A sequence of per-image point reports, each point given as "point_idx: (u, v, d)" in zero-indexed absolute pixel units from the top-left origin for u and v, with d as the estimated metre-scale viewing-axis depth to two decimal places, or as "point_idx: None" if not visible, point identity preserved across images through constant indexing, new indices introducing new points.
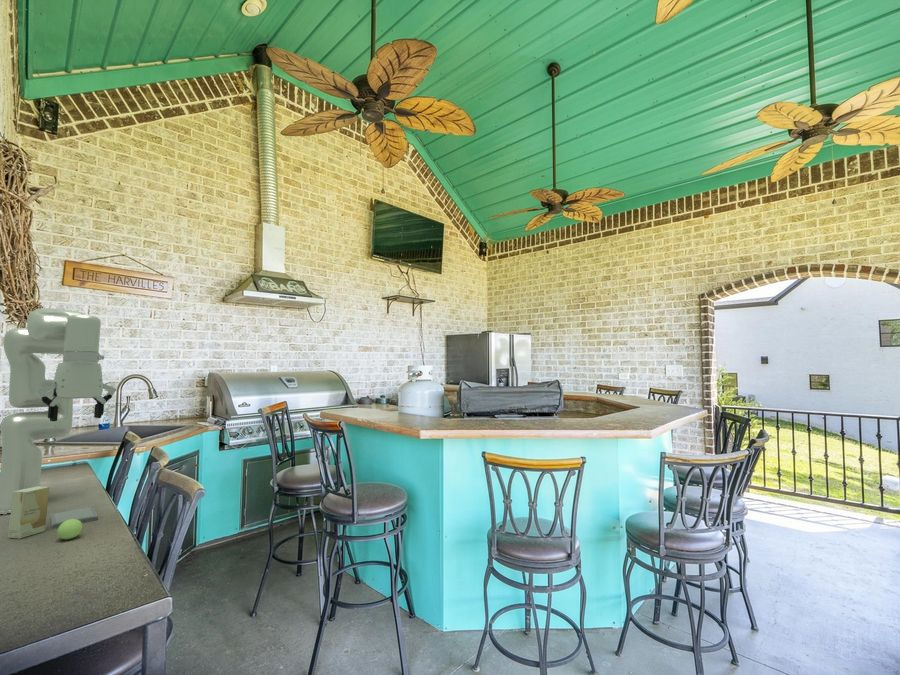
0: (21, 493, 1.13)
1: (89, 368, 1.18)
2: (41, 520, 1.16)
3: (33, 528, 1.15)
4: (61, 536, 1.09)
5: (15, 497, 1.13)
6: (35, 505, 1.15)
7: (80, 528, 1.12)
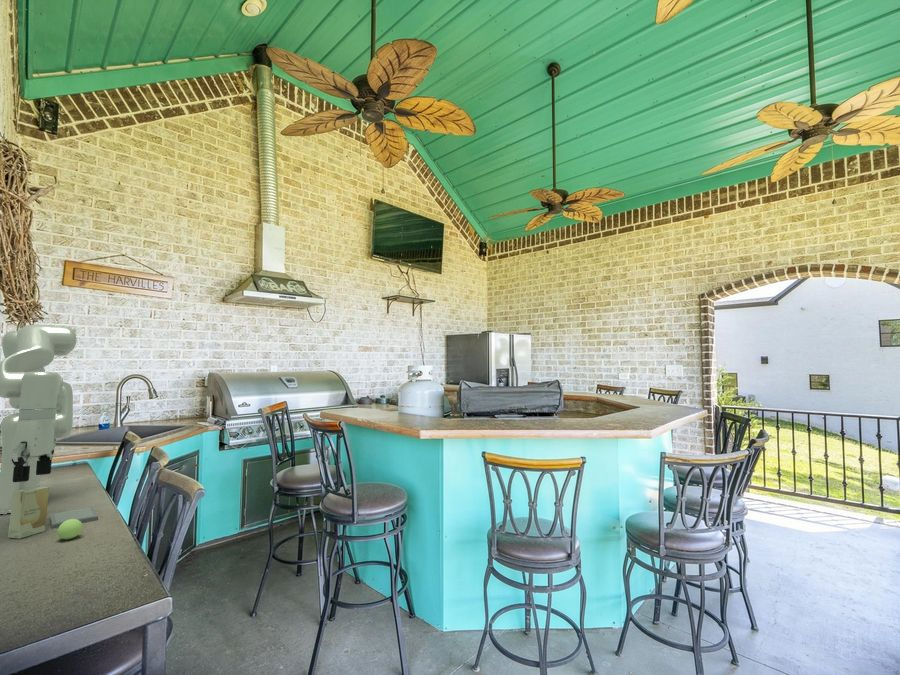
0: (21, 493, 1.13)
1: (50, 424, 1.20)
2: (41, 520, 1.16)
3: (33, 528, 1.15)
4: (61, 536, 1.09)
5: (15, 497, 1.13)
6: (35, 505, 1.15)
7: (80, 528, 1.12)
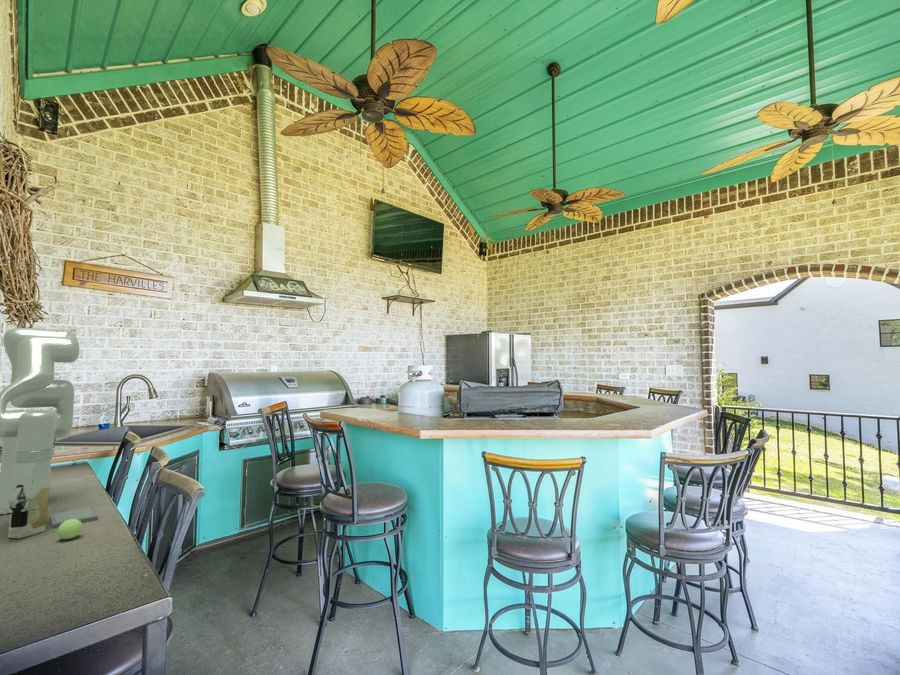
0: None
1: (47, 465, 1.19)
2: (41, 520, 1.16)
3: (34, 528, 1.15)
4: (61, 536, 1.09)
5: None
6: (35, 505, 1.15)
7: (80, 528, 1.12)
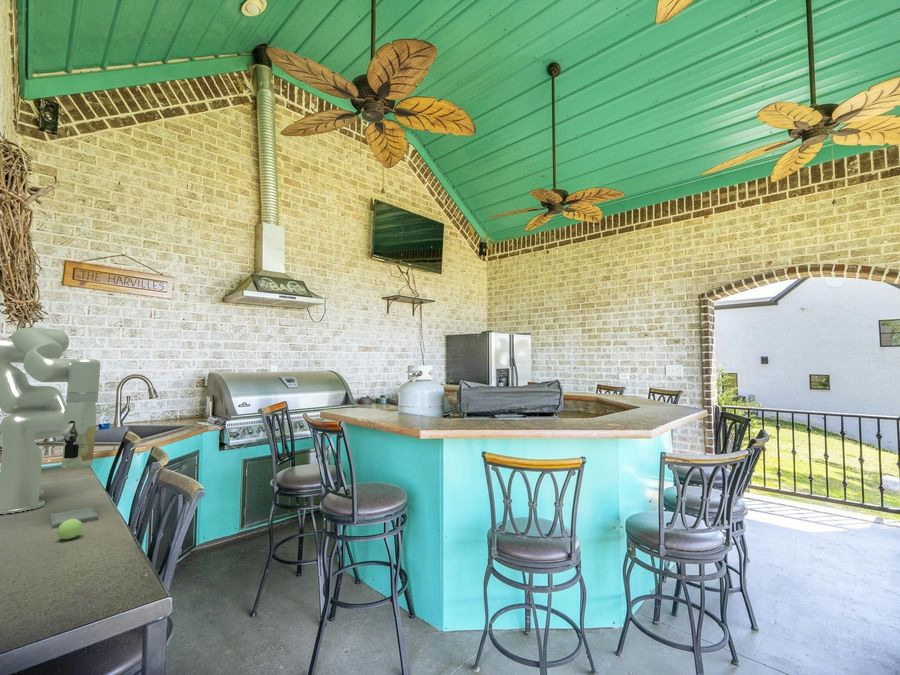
0: None
1: (93, 406, 1.33)
2: (89, 454, 1.31)
3: (83, 460, 1.29)
4: (61, 536, 1.09)
5: None
6: (84, 440, 1.30)
7: (80, 528, 1.12)
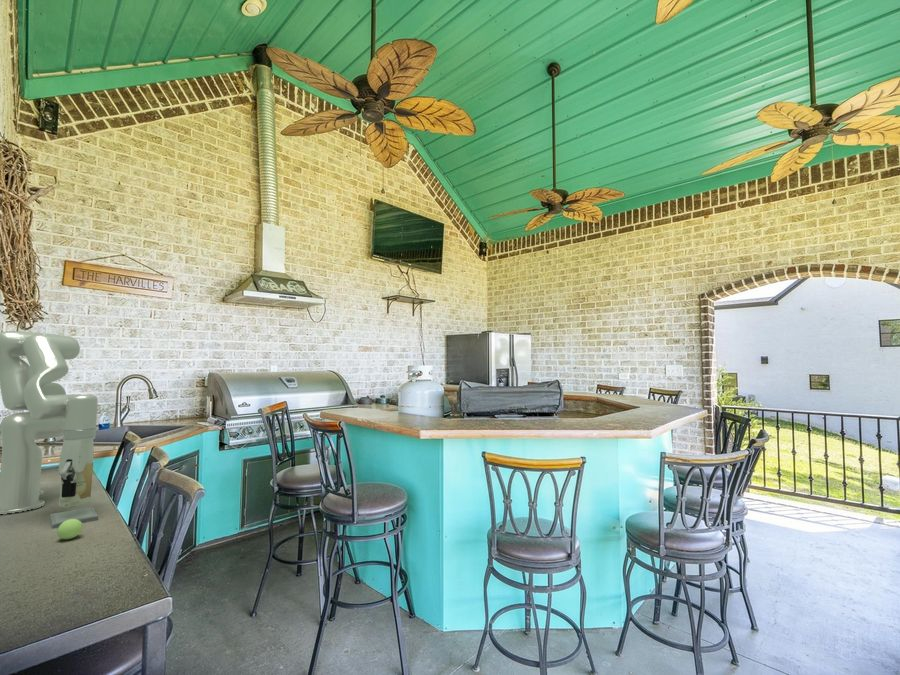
0: None
1: (90, 443, 1.32)
2: (87, 492, 1.30)
3: (81, 498, 1.28)
4: (61, 536, 1.09)
5: None
6: (82, 478, 1.28)
7: (80, 528, 1.12)
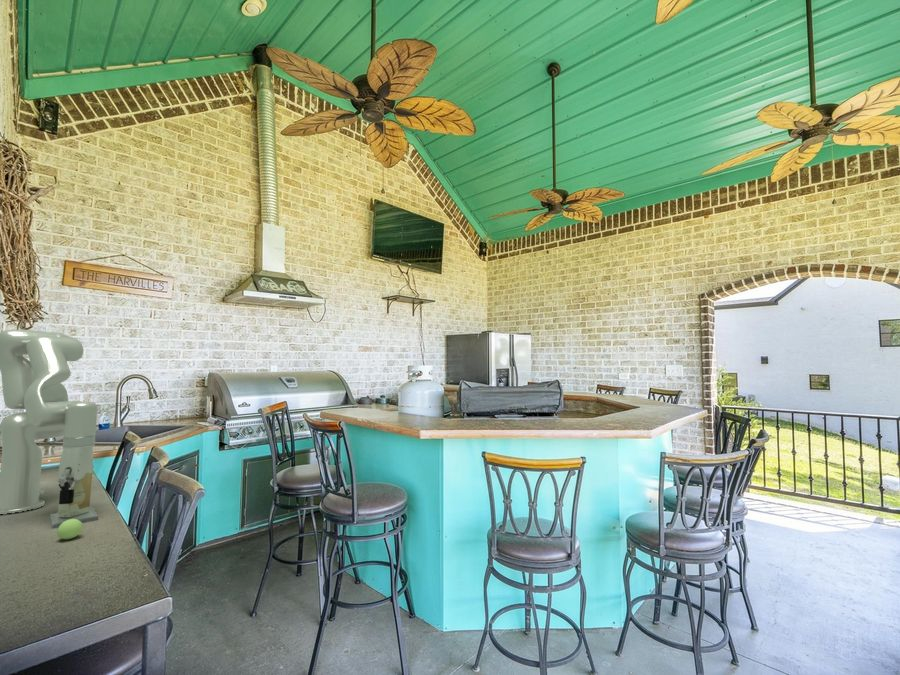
0: None
1: (90, 450, 1.32)
2: (86, 502, 1.30)
3: (80, 508, 1.28)
4: (61, 536, 1.09)
5: None
6: (81, 488, 1.28)
7: (80, 528, 1.12)
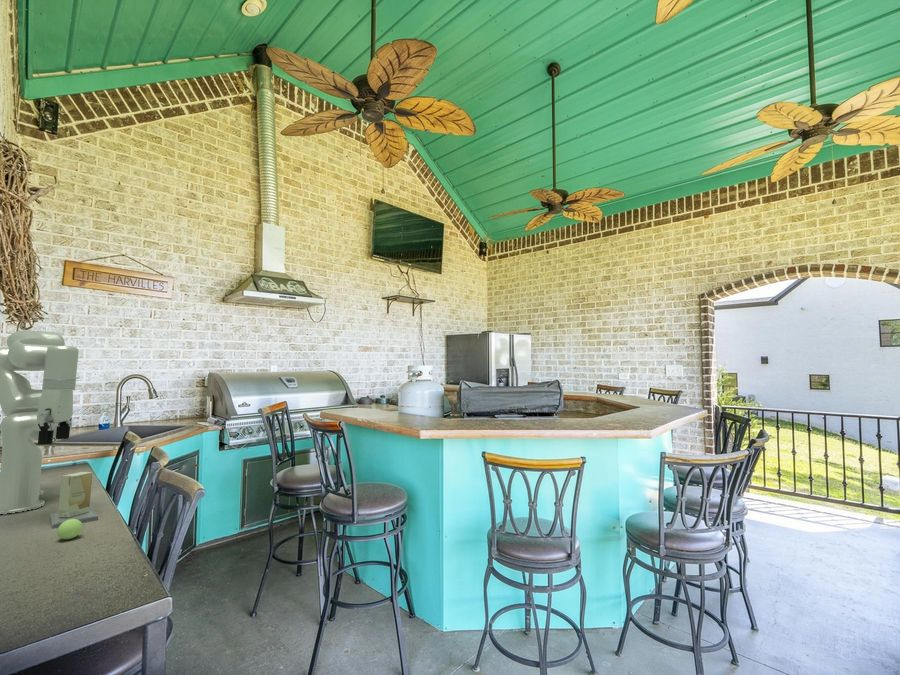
0: (69, 477, 1.26)
1: (70, 394, 1.31)
2: (86, 502, 1.30)
3: (80, 508, 1.28)
4: (61, 536, 1.09)
5: (64, 481, 1.26)
6: (81, 488, 1.28)
7: (80, 528, 1.12)
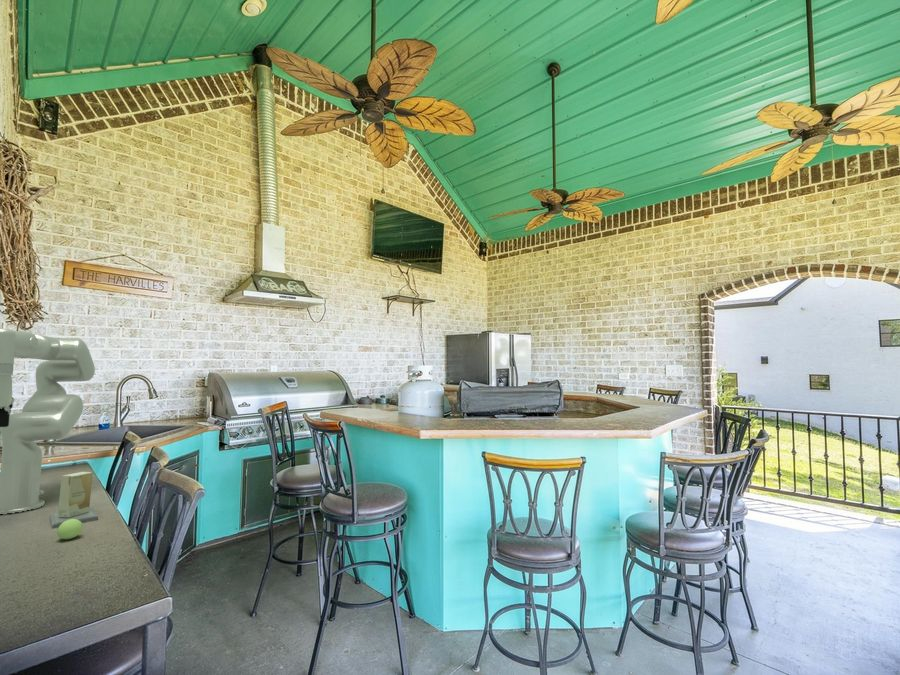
0: (69, 477, 1.26)
1: (7, 379, 1.26)
2: (86, 502, 1.30)
3: (80, 508, 1.28)
4: (61, 536, 1.09)
5: (64, 481, 1.26)
6: (81, 488, 1.28)
7: (80, 528, 1.12)
